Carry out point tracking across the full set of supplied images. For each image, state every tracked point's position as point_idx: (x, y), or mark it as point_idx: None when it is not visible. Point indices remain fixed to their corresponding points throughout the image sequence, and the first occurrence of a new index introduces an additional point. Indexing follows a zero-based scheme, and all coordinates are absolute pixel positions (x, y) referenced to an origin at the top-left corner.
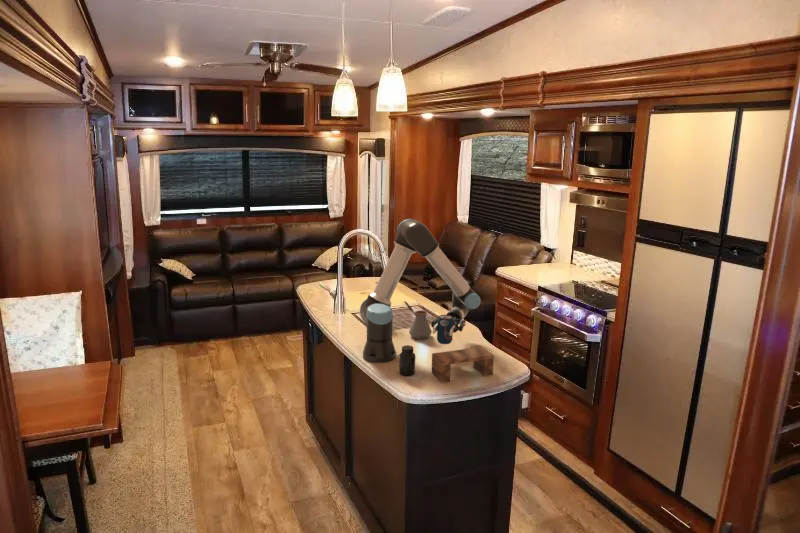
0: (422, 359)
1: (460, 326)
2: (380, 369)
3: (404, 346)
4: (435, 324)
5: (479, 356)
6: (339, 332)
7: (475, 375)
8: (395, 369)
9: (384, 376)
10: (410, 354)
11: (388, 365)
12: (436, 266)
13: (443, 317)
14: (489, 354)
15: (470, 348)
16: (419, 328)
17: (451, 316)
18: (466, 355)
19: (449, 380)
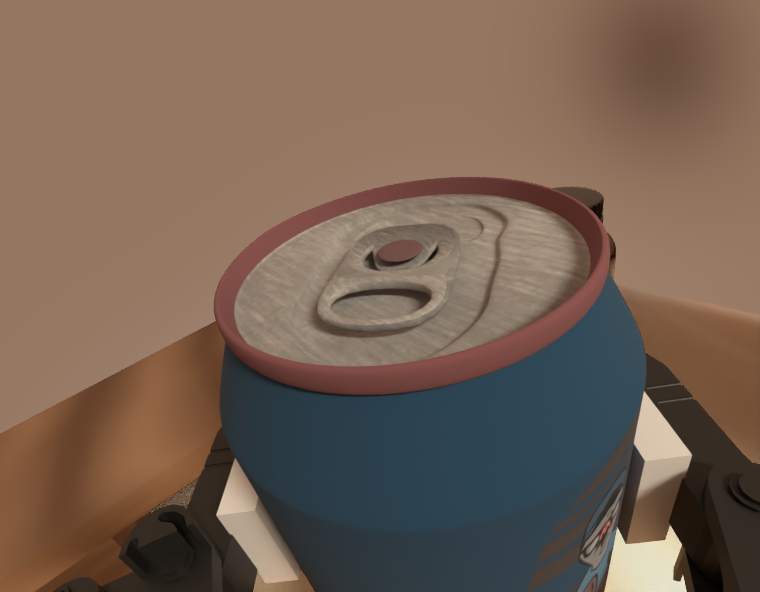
0: (666, 581)
1: (87, 582)
2: (717, 318)
3: (589, 195)
4: (720, 464)
5: (115, 377)
6: None
7: (196, 478)
8: (653, 348)
9: (622, 286)
10: None
11: (745, 366)
12: None
13: (445, 230)
14: (14, 438)
15: (138, 484)
16: None
17: (227, 326)
18: (205, 355)
19: None
